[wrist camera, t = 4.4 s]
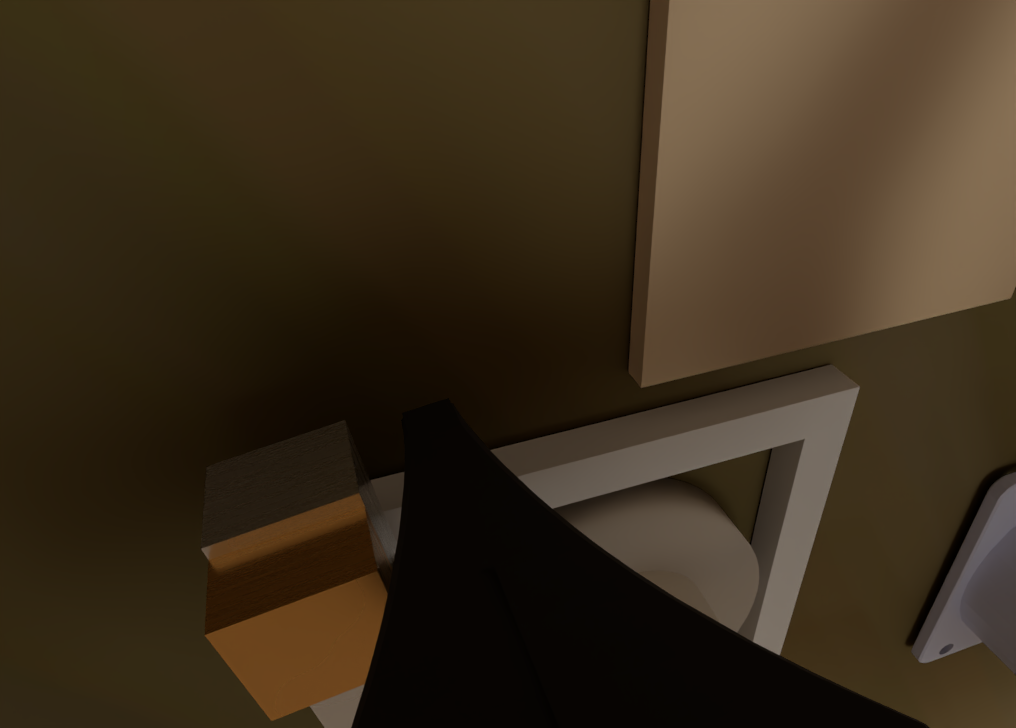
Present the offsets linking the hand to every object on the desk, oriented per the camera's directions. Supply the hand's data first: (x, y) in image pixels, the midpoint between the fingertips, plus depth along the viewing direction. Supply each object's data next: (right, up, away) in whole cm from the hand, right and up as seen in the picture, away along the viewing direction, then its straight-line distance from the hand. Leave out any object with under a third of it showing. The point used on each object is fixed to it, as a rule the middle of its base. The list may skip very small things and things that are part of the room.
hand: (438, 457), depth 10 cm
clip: (-1, -6, +4) cm, 7 cm away
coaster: (+7, +5, +1) cm, 9 cm away
